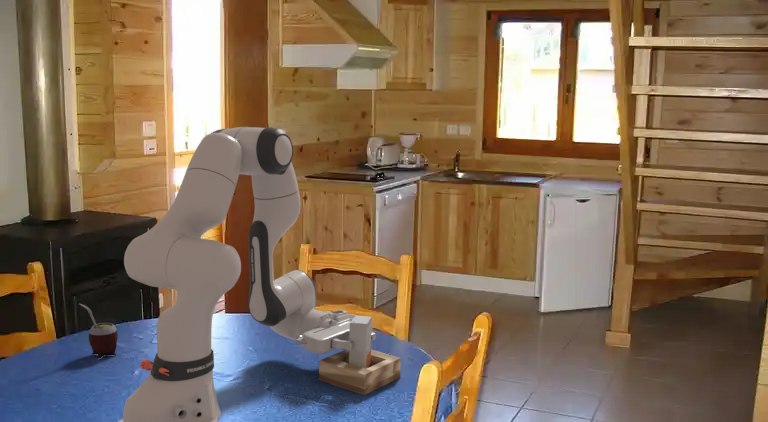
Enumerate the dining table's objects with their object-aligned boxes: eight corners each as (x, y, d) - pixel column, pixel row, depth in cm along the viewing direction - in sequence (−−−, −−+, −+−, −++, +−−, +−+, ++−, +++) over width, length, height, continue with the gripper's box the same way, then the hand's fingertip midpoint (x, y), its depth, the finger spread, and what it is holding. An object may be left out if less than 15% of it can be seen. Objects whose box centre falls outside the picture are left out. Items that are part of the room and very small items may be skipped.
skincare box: (366, 372, 181) (366, 324, 178) (348, 370, 181) (348, 322, 179) (371, 363, 186) (372, 316, 184) (354, 361, 187) (355, 314, 185)
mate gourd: (123, 351, 200) (120, 296, 198) (109, 362, 193) (106, 304, 190) (95, 349, 201) (93, 295, 199) (81, 360, 193) (78, 303, 191)
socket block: (364, 395, 175) (364, 374, 174) (319, 380, 183) (319, 360, 182) (400, 377, 185) (400, 358, 185) (356, 364, 194) (356, 345, 193)
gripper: (291, 327, 182) (334, 340, 174) (346, 308, 198) (389, 319, 190) (291, 352, 183) (334, 366, 175) (346, 331, 199) (388, 343, 191)
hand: (363, 341), depth 182 cm, fingers closed on skincare box, 7 cm apart
